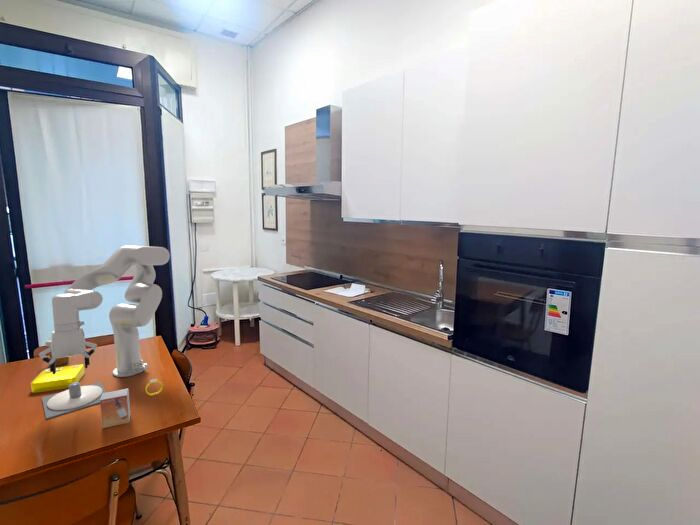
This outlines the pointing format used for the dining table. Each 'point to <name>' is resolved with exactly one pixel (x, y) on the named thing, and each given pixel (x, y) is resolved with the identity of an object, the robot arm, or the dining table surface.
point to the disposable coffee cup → (58, 360)
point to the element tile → (57, 378)
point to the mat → (55, 413)
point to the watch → (153, 383)
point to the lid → (74, 397)
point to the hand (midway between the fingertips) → (70, 369)
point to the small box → (115, 408)
